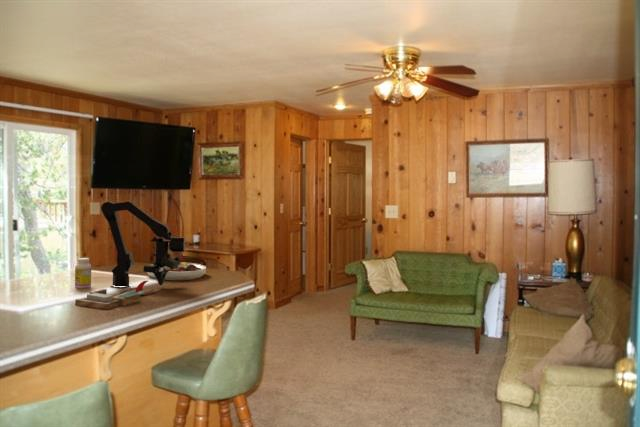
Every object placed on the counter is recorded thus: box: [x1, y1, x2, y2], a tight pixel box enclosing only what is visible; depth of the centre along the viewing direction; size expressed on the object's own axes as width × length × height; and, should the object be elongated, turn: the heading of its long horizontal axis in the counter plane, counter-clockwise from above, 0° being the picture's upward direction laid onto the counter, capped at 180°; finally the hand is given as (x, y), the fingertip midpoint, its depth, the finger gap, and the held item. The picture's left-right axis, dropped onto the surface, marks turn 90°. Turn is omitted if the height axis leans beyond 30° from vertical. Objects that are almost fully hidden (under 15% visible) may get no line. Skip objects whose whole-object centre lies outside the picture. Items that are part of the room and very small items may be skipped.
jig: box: [74, 288, 141, 310], centre depth 205 cm, size 18×17×3 cm
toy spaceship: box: [114, 280, 159, 298], centre depth 218 cm, size 27×11×5 cm, turn 174°
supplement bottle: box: [74, 257, 92, 289], centre depth 232 cm, size 7×7×13 cm
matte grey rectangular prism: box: [86, 293, 114, 303], centre depth 201 cm, size 4×9×4 cm, turn 68°
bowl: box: [146, 261, 207, 281], centre depth 270 cm, size 30×30×8 cm
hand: (160, 285), depth 239 cm, fingers closed
